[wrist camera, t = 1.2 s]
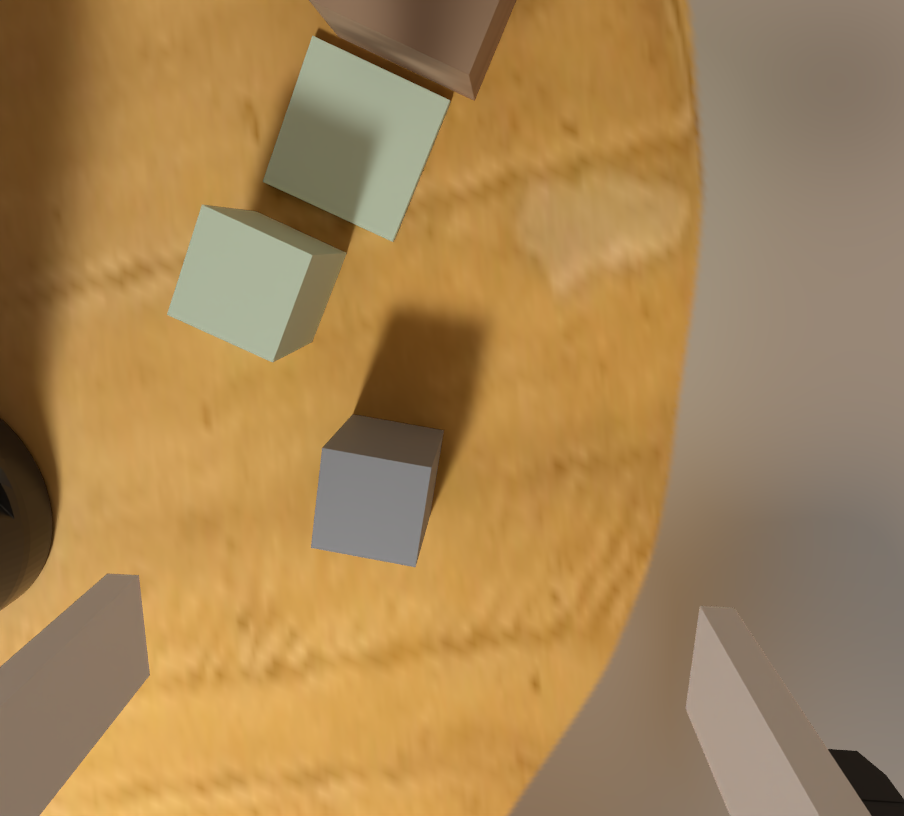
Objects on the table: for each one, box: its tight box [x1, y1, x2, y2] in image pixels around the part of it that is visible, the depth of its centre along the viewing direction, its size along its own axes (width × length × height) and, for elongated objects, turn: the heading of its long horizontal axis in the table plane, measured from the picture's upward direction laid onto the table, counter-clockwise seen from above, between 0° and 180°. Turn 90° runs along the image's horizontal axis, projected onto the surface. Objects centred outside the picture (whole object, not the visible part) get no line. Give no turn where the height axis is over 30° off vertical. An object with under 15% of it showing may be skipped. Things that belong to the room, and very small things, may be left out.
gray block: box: [311, 414, 444, 567], centre depth 32 cm, size 5×5×6 cm
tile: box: [263, 36, 451, 242], centre depth 31 cm, size 7×7×1 cm
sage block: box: [167, 205, 347, 362], centre depth 30 cm, size 5×5×6 cm
